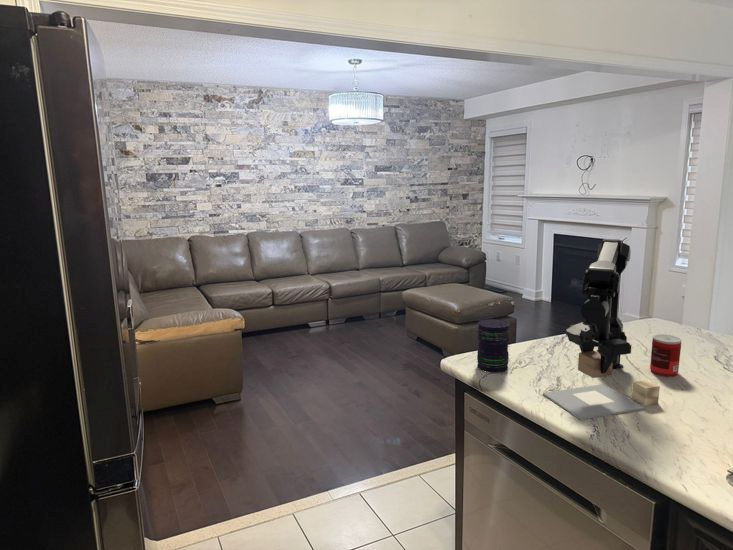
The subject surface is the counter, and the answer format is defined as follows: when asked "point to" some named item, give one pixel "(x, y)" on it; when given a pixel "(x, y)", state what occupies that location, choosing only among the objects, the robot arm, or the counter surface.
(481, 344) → the black jar
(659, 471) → the counter surface
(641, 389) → the maple block
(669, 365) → the canned food
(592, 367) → the walnut block
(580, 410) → the build mat
